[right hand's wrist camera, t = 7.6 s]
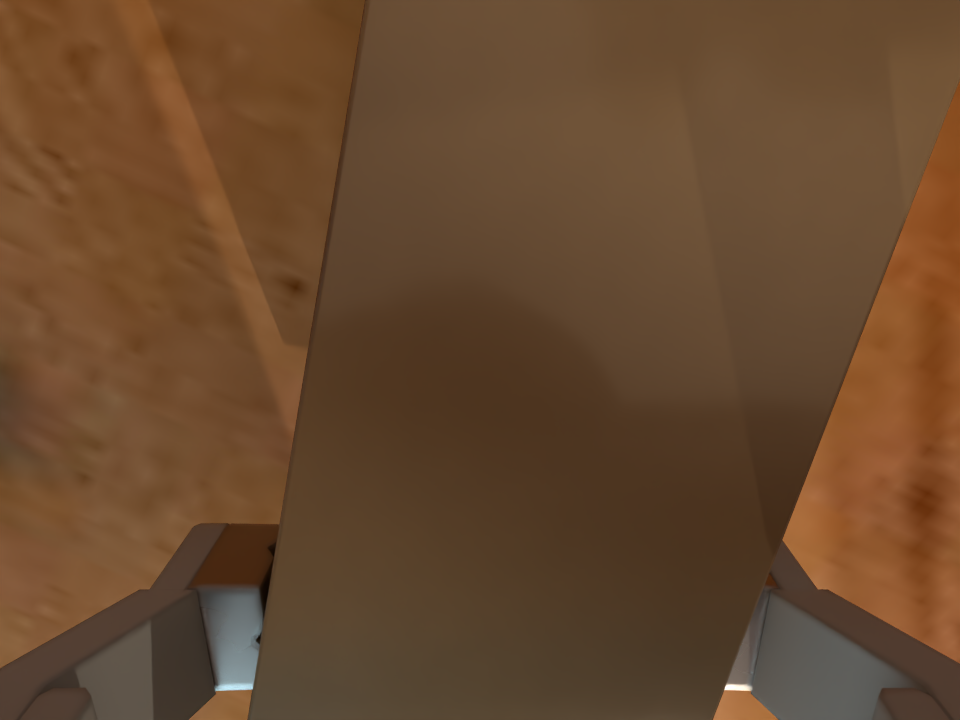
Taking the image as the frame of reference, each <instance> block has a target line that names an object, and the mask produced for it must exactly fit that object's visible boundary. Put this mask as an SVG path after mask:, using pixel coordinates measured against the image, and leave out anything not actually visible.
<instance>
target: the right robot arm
mask: <svg viewBox="0 0 960 720" xmlns="http://www.w3.org/2000/svg"><path fill="white" fill-rule="evenodd" d="M278 530H279V525H277V524H228V523H201V524H198V525H196V526H194V527H193V528H192V529H191V531H190V532H189V534H188V535H187V537H186V538H185V539H184V541H183V542H182V544H181V545H180V547H179V548H178V549H177V551H176V552H175V554H174V555H173V557H172V558H171V559H170V561H169V562H168V564H167V565H166V567H165V568H164V569H163V571H162V572H161V574H160V575H159V577H158V578H157V579H156V581H155V582H154V584H153V585H152V587H151V588H150V589H149V590H138V591H136V592H135V593H133V594H131V595H129V596H127V597H126V598H124V599H122V600H120V601H119V602H117V603H115V604H113V605H112V606H110V607H108V608H106V609H104V610H103V611H101V612H99V613H97V614H96V615H94V616H92V617H90V618H89V619H87V620H85V621H83V622H81V623H80V624H78V625H76V626H74V627H73V628H71V629H69V630H67V631H66V632H64V633H62V634H60V635H58V636H57V637H55V638H53V639H51V640H50V641H48V642H46V643H44V644H43V645H41V646H39V647H37V648H35V649H34V650H32V651H30V652H28V653H27V654H25V655H23V656H21V657H20V658H18V659H16V660H14V661H12V662H11V663H9V664H7V665H5V666H4V667H2V668H0V720H189V719H190V718H191V717H192V716H193V715H194V714H195V713H196V712H197V711H198V710H199V709H200V708H201V707H202V706H203V705H204V704H206V703H207V702H208V701H209V700H210V699H211V698H212V697H213V696H214V695H215V694H216V692H215V691H220V690H252V689H253V683H254V677H255V671H256V664H257V658H258V652H259V646H260V640H261V634H262V628H263V622H264V616H265V609H266V603H267V597H268V591H269V585H270V579H271V573H272V567H273V561H274V555H275V548H276V542H277V536H278ZM724 690H747V691H751V694H752V695H753V696H754V697H755V698H756V699H757V700H758V701H760V702H761V703H762V704H763V705H764V706H765V707H766V708H767V709H768V710H769V711H770V712H771V713H772V714H773V715H775V716H776V717H777V718H778V719H779V720H960V664H959V663H957V662H956V661H954V660H952V659H950V658H949V657H947V656H945V655H943V654H941V653H940V652H938V651H936V650H934V649H933V648H931V647H929V646H927V645H925V644H924V643H922V642H920V641H918V640H916V639H915V638H913V637H911V636H909V635H908V634H906V633H904V632H902V631H900V630H899V629H897V628H895V627H893V626H892V625H890V624H888V623H886V622H884V621H883V620H881V619H879V618H877V617H876V616H874V615H872V614H870V613H868V612H867V611H865V610H863V609H861V608H859V607H858V606H856V605H854V604H852V603H851V602H849V601H847V600H845V599H843V598H842V597H840V596H838V595H836V594H835V593H833V592H831V591H829V590H818V589H817V588H816V586H815V585H814V584H813V582H812V581H811V579H810V578H809V577H808V575H807V574H806V572H805V571H804V570H803V568H802V567H801V566H800V564H799V563H798V561H797V560H796V559H795V557H794V556H793V554H792V553H791V552H790V550H789V549H788V548H787V546H786V545H785V543H784V542H783V541H781V544H780V547H779V549H778V552H777V554H776V557H775V560H774V562H773V565H772V567H771V570H770V573H769V575H768V578H767V580H766V583H765V586H764V588H763V591H762V593H761V596H760V598H759V601H758V604H757V606H756V609H755V611H754V614H753V617H752V619H751V622H750V624H749V627H748V630H747V632H746V635H745V637H744V640H743V643H742V645H741V648H740V650H739V653H738V655H737V658H736V661H735V663H734V666H733V668H732V671H731V674H730V676H729V679H728V681H727V684H726V687H725V689H724Z"/></svg>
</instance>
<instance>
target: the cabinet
mask: <svg viewBox="0 0 960 720" xmlns="http://www.w3.org/2000/svg"><path fill="white" fill-rule="evenodd" d="M959 80H960V0H365V5H364V11H363V17H362V23H361V29H360V35H359V41H358V47H357V54H356V60H355V66H354V72H353V78H352V84H351V90H350V96H349V102H348V109H347V115H346V121H345V127H344V133H343V139H342V145H341V151H340V157H339V164H338V170H337V176H336V182H335V188H334V194H333V200H332V206H331V212H330V218H329V225H328V231H327V237H326V243H325V249H324V255H323V261H322V267H321V273H320V280H319V286H318V292H317V298H316V304H315V310H314V316H313V322H312V328H311V335H310V341H309V347H308V353H307V359H306V365H305V371H304V377H303V383H302V390H301V396H300V402H299V408H298V414H297V420H296V426H295V432H294V438H293V445H292V451H291V457H290V463H289V469H288V475H287V481H286V487H285V493H284V500H283V506H282V512H281V518H280V524H279V530H278V536H277V542H276V548H275V555H274V561H273V567H272V573H271V579H270V585H269V591H268V597H267V603H266V609H265V616H264V622H263V628H262V634H261V640H260V646H259V652H258V658H257V664H256V671H255V677H254V683H253V689H252V695H251V701H250V707H249V713H248V719H247V720H713V718H714V715H715V712H716V710H717V707H718V705H719V702H720V699H721V697H722V694H723V692H724V689H725V687H726V684H727V681H728V679H729V676H730V674H731V671H732V668H733V666H734V663H735V661H736V658H737V655H738V653H739V650H740V648H741V645H742V643H743V640H744V637H745V635H746V632H747V630H748V627H749V624H750V622H751V619H752V617H753V614H754V611H755V609H756V606H757V604H758V601H759V598H760V596H761V593H762V591H763V588H764V586H765V583H766V580H767V578H768V575H769V573H770V570H771V567H772V565H773V562H774V560H775V557H776V554H777V552H778V549H779V547H780V544H781V541H782V539H783V536H784V534H785V531H786V529H787V526H788V523H789V521H790V518H791V516H792V513H793V510H794V508H795V505H796V503H797V500H798V497H799V495H800V492H801V490H802V487H803V484H804V482H805V479H806V477H807V474H808V472H809V469H810V466H811V464H812V461H813V459H814V456H815V453H816V451H817V448H818V446H819V443H820V440H821V438H822V435H823V433H824V430H825V428H826V425H827V422H828V420H829V417H830V415H831V412H832V409H833V407H834V404H835V402H836V399H837V396H838V394H839V391H840V389H841V386H842V383H843V381H844V378H845V376H846V373H847V371H848V368H849V365H850V363H851V360H852V358H853V355H854V352H855V350H856V347H857V345H858V342H859V339H860V337H861V334H862V332H863V329H864V326H865V324H866V321H867V319H868V316H869V314H870V311H871V308H872V306H873V303H874V301H875V298H876V295H877V293H878V290H879V288H880V285H881V282H882V280H883V277H884V275H885V272H886V269H887V267H888V264H889V262H890V259H891V257H892V254H893V251H894V249H895V246H896V244H897V241H898V238H899V236H900V233H901V231H902V228H903V225H904V223H905V220H906V218H907V215H908V212H909V210H910V207H911V205H912V202H913V200H914V197H915V194H916V192H917V189H918V187H919V184H920V181H921V179H922V176H923V174H924V171H925V168H926V166H927V163H928V161H929V158H930V156H931V153H932V150H933V148H934V145H935V143H936V140H937V137H938V135H939V132H940V130H941V127H942V124H943V122H944V119H945V117H946V114H947V111H948V109H949V106H950V104H951V101H952V99H953V96H954V93H955V91H956V88H957V86H958V83H959Z"/></svg>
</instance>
